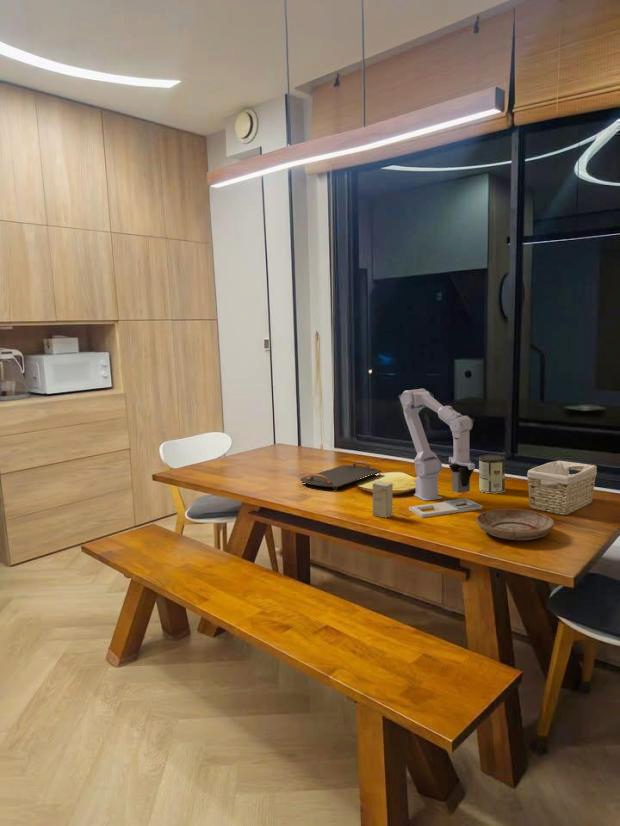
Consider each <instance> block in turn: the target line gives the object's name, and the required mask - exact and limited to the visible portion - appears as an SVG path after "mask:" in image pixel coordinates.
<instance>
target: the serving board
mask: <svg viewBox="0 0 620 826" xmlns="http://www.w3.org/2000/svg"><path fill="white" fill-rule="evenodd" d="M357 464H358V465H357ZM359 464H361V465H359ZM363 465H364V466H363ZM377 473H379V474H381V473H382V470H380V469H377V468H374V467H372V465H371V464H370V463H368V462H367V461H364V460H357V461H354V462H353V463H352V464H344V465H340V466H337V467H336V466H335V467H334V468H331V469H327V470H323V471H320V472H317V473H314V474H310V475H307V476H304V477H301V478H300V479H299V481H300V482H301V483H307V484H306V485H308V484H309V485H312V486H317V487H326V488H332V491H333V490H337V489H338V488H340V487H342V486H345V485H348V484H352V483H354V482H356V481H359V480H358V479H360V478H363V477H365V476H368V475H371V474H374V475H375V474H377ZM363 479H364V478H363ZM337 491H338V490H337Z"/></svg>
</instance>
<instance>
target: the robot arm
mask: <svg viewBox="0 0 620 826" xmlns="http://www.w3.org/2000/svg"><path fill="white" fill-rule="evenodd" d="M399 401H400V403H401V407H402V409H403V415H404V419H405V422H406V424H407V427H408V431H409V433H410V436H411V439H412V443H413V446H414V448H415V449H414V450H415V452H416V456H415V458H414V459H413V462H414V471H415V473H416V477H415V493H414V494H413V496H415V497H416V498H418V499H420V500H422V501H424V502H428V501H434V500H442V499H443V496H440V495H439V483H438V482H439V480H438V479H439V476H440V473H441V472H442V468H443V465H442V462H441V460H440V458H438V457H439V456H438V455H437V454H436V453H435V452H434V451H432V450H431V448H430V444H429V442H428V439H427V435H426V433H425V430H424V427H423V424H422V420H421V418H420V415H419V413H420V411H422V409H423V408H424V407H427V408H428V409H431V411H433V412H435V413H436V414H437V415H438V419H440V420H441V421H443V423H445V424H446V425H448V426H449V428H450V431H451V433H452V434H451V435H452V439H453V440H452V441H453V443H452V444H453V456H448V463H450V464H449V465H448V466H449V468H450V470H451V473H452V472H456V471H459V472H460V475H461V483H462V486H468V483H469V479H470V480H471V476H472V474H473V472H474V471H475V470H476V468H475V467H476V464H475V463H474V462H472V461H471V460H470V431H471V430H472V429H473V426H474V424H473V420H472V419H471V418H470V416H469V415H462V414H461V413H460V412H457V411H456V410H455V409H454V408H453V407H452V406H451V405H444V406H443V404H442V403H440V402H439V401H438V400H437V399H435V398H434V397H433V396H432V395H431V393H430V392H429V391H428V390H426V389H425V388H423V387H422V388H418V389H409V390H407V389H406V390H404V391H403V392H402V393H401V397H400V400H399Z"/></svg>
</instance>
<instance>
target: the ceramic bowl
mask: <svg viewBox="0 0 620 826" xmlns="http://www.w3.org/2000/svg"><path fill="white" fill-rule="evenodd" d="M475 518H476V519H475V521H476V524H477V525H478V527H479V528H480V529H481V530H482V531H483V532H484V533H486V534H488V535H490V536H493V537H495V538H499V539H503V540H507V541H533V540H537V539H540V538H544V537H545V536H547V535H548V534H550V533H551V531H552V530H553V528H554V525H555V522H554V519H553V518H552V517H550V516H548V515H547V514H544V513H540V512H536V511H532V510H526V509H516V508H515V509H514V508H498V509H492V510H487V511H483V512H481V513H479V514H478V515H477V517H475Z"/></svg>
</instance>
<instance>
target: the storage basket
mask: <svg viewBox="0 0 620 826" xmlns="http://www.w3.org/2000/svg"><path fill="white" fill-rule="evenodd" d="M597 468H598V466H597V465H595V464H587V463H581V462H573V461H566V460H565V461H564V460H556V461H550V462H546V463H544V464H541V465H539V466H534V467H533V468H531V469H528V471H527V475H526V477H527V485H528V500H529V501H528V503H529V504H528V506H529V508H531V509H534V510H537V511H542V512H548V513H551V514H553V513H554V514H557V515H562V516H566V515H570V514H571V513H573V512H575V511H578V510H580V509H582V507H583V508H584V507H586V506H588V505H590V504H592V503H593V495H594V492H595V481H596V478H597V474H598V473H597ZM570 470H571V471H577V473H572V474H571V473H570ZM591 502H592V503H591Z"/></svg>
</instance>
